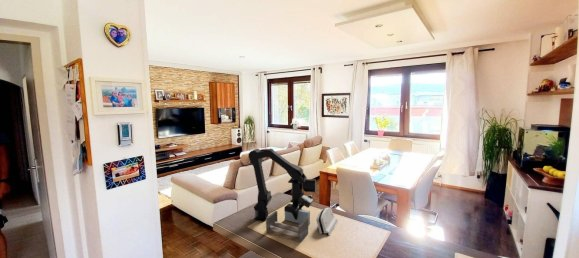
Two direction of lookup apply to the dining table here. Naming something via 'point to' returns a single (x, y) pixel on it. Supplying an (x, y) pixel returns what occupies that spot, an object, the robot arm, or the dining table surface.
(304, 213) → the door panel
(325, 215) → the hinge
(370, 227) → the dining table surface
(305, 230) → the grey open box
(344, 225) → the dining table surface
